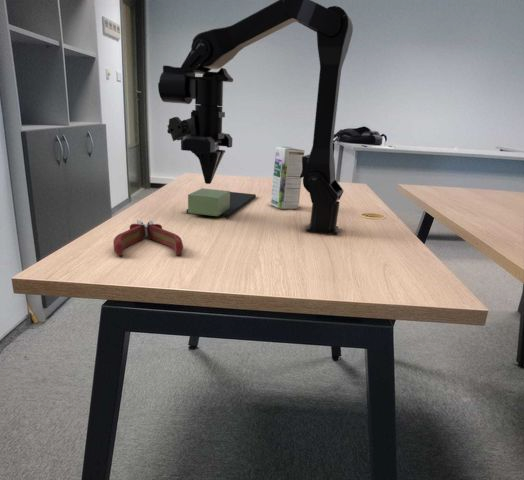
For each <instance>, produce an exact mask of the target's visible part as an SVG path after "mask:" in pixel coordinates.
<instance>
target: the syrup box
mask: <svg viewBox="0 0 524 480" xmlns="http://www.w3.org/2000/svg"><path fill="white" fill-rule="evenodd" d="M303 156H305V149H300V148H296V147H292V146H276V147H275V152H274V161H273V162H274V163H273V173H272V185H271V187H272V188H271V197H270V198H271V199H270V205H271V206H272V207H275V208H276V209H279V210H297V209H299V205H300V197H301V188H302V180H303V177H302V178H300V175H301V173H302V157H303Z"/></svg>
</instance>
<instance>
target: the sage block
mask: <svg viewBox="0 0 524 480" xmlns="http://www.w3.org/2000/svg"><path fill="white" fill-rule="evenodd" d="M230 192H231V191H230V190H223V189H213V188H204V187H201V188H200V189H197V190H195V191H192V192H191V193H188V195H187V209H188V213H187V214H190V213H194V214H193V215H198V214H203V215H202V216H207V215H212V216H211V217H216V216H219V215H220V214H222V213H223V212H225V211H226V210H228V209H229V208H230Z"/></svg>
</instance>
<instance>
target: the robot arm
mask: <svg viewBox="0 0 524 480" xmlns="http://www.w3.org/2000/svg"><path fill="white" fill-rule="evenodd" d="M293 23H298V24H300V25H302V26H304V27H306V28H308V29H309V30H312V31H313V32H314V33H316V42H317V45H316V46H317V52H318V60H319V77H318V86H317V97H316V98H317V99H316V105H315V106H316V108H315V118H314V127H313V128H314V129H313V140H312V146H311V150H310V152H309V154H306V155H304V156H303V157H302V173H301V175H300V178H302V185H303V188H304V189H305V190H306V192H307V193H309V197H310V201H311V203H312V204H311V212H310V222H309V224H308V225H307V227H306V232H310V233H318V234H327V235H337V234H338V230H339V226H338V225H337V224H338V217H339V210H340V200H341V197H342V196H343V194H344V189H343V188H342V186H341V185H340V183H339V182H338V181H337V180H336V162H335V153H334V138H335V130H336V129H335V127H336V121H337V112H338V102H339V94H340V85H341V75H342V69H343V65H344V62H345V60H346V58H347V54H348V52H349V51H348V50H349V47H350V45H351V44H350V43H351V40H352V36H353V32H354V24H353V22H352V19H351V18H350V17H349V15H348V13H347V12H346V11H345V9H344V8H342V7H340V6H337V5H331V6H328V7H325V6H323V5H322V4H319V3H318V2H316V1H313V0H276V1H275V2H272V3H271V4H269V5H267V6H265V7H263V8H262V9H260V10H257V11H256V12H254V13H252V14H251V15H248V16H246V17H244V18H242V19H241V20H239V21H237V22H235V23H233V24H232V25H228V26H225V27H218V28H217V27H216V28H212V29H209V30H205V31H202V32H199V33H197V34H196V35H195V36H194V37H193V38H192V43H191V46H190V48H191V49H190V51H189V53H188V54H187V56H186V57H185V59H184V61H183V63H182V64H181V66H180V67H179V66H172V65H166V64H165V65H163V66H162V72H161V74H160V75H159V81H158V83H157V88H158V95H159V97H160V99H161V101H162V102H163V103H169V104H170V103H171V104H183V105H190V104H191V103H192V102H193V100H194V104H195V105H194V109H191V110H192V111H191V112H190V118H189V117H188V118H187V119H183V120H181V118H180V117H178V116H174V117H173V116H172V117H170V118H169V119H168V125H167V134H169V135H170V136H171V139H172V142H175V141H180V150H181V151H186V152H191V153H192V154H193V155H194V156H196V157H197V158H198V161H199V164H200V168H201V172H202V176H203V180H204V183H205V185H210V184H211V183H212V181H213V180H214V177H215V174H216V172H217V170H218V169H219V165H220V163H221V161H222V159H223V157H224V154H225V153H226V150H225V149H220V147H226V148H233V137H232V136H231V134H230V133H225V132H223V118H226V112H225V111H223V107H224V106H223V105H224V104H223V102H224V83H233V82H234V78H233V77H232V76H231V75H230V74H229V73H228V71H227V69H226V68H224V66H226V65H227V64H228V63H229V62H230V61H231V60H234V58H235V57H236V56H237V54H239V52H241V51H242V50H243V49H245V48H246V47H249V46H250V45H252V44H254V43H256V42H258V41H261V40H262V39H265V38H266V37H268V36H270V35H272V34H274V33H276V32H279V30H282V29H284V28H285V27H286V28H287V26H290V25H292V24H293ZM211 70H218V71H211ZM196 74H197V75H202V76H196Z"/></svg>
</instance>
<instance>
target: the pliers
mask: <svg viewBox="0 0 524 480" xmlns="http://www.w3.org/2000/svg"><path fill="white" fill-rule="evenodd" d="M146 236H147V238H148V239H149V240H153V241H156V242H158V243H160V244H162V245H165V246H167V247H170V248H172V249H173V250H174V253H175V255H176V256H178V255H181V254H182V253H183V251H184V246H183V245H184V244H183V240H182V238H181V237H180V236H179V235H178V234H177V233H174V232H172V231H169V230H166V229H163V226H162V225H161V224H159V223H154V222H153V220H149V221H148V222H147V223H144V222H143V221H142V220H139V219H138V220H136V223H132V224H130V225H129V229H128V230H126V231H123V232H120V233H119V234H117V235H116V236H115V237H114V238H113V241H112V242H113V243H112V244H113V249H114V252H115V254H116V255H117V256H122V257H123V250H124V249H126V248H127V247H129V246H131V245H133V244H135V243H137V242H139V241H142V240H143V241H144V239H145V238H146Z"/></svg>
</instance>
